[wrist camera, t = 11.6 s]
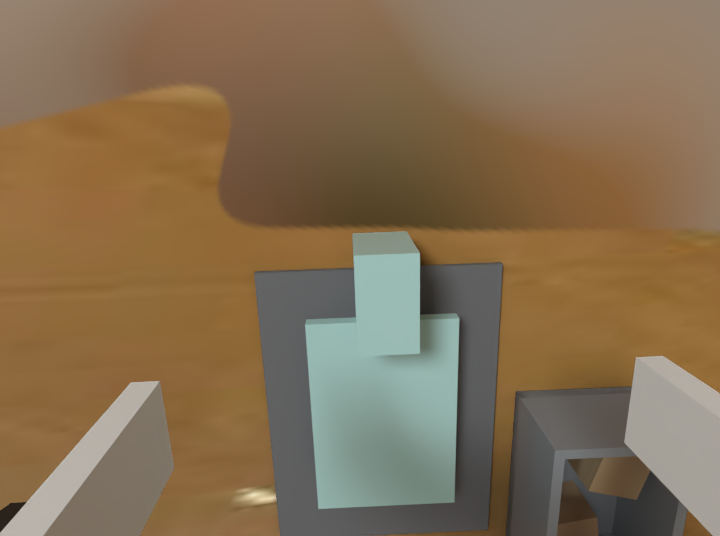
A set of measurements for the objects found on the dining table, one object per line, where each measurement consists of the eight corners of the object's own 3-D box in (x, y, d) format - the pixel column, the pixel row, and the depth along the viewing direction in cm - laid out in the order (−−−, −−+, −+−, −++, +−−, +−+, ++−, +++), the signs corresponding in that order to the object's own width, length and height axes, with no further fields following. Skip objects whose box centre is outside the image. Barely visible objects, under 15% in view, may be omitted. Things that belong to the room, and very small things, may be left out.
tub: (505, 535, 34) (538, 617, 28) (515, 391, 30) (555, 450, 25) (612, 530, 34) (667, 610, 28) (634, 386, 31) (700, 444, 25)
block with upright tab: (320, 483, 32) (313, 568, 25) (302, 230, 27) (289, 258, 20) (447, 477, 32) (471, 560, 25) (452, 224, 27) (483, 250, 21)
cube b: (564, 456, 31) (588, 490, 28) (581, 416, 30) (607, 447, 27) (608, 464, 31) (636, 499, 28) (625, 424, 30) (657, 456, 27)
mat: (281, 534, 33) (280, 539, 33) (255, 271, 28) (254, 273, 27) (486, 525, 33) (487, 529, 33) (500, 262, 28) (502, 264, 28)
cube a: (531, 525, 33) (550, 565, 29) (527, 488, 32) (546, 526, 29) (576, 516, 32) (600, 556, 29) (572, 480, 32) (597, 517, 29)
